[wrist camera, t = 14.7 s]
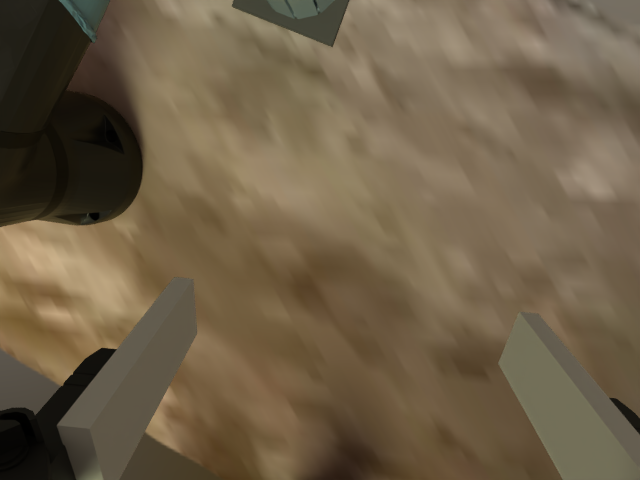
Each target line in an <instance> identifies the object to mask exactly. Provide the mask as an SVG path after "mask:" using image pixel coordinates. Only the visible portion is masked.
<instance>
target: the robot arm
mask: <svg viewBox="0 0 640 480" xmlns="http://www.w3.org/2000/svg"><path fill="white" fill-rule="evenodd" d="M109 2H110V0H0V227H2V226H7V225H12V224H17V223H21V222H26V221H32V220H42V221H49V222H56V223H62V224H69V225H91V224H96V223H100V222H104V221H108V220H111V219H113V218H115V217H117V216H119V215H120V214H121V213H123V212H124V211H125V210H126V209H127V208H128V207H129V206H130V204H131V203H132V202H133V200H134V198H135V196H136V194H137V192H138V189H139V186H140V182H141V175H142V163H141V155H140V150H139V147H138V144H137V141H136V139H135V136H134V134H133V132H132V130H131V129H130V127H129V125H128V124H127V122H126V121H125V120H124V118H123V117H122V116H121V115H120V114H119V113H118V112H117V111H116V110H115V109H114V108H113V107H111V106H110V105H109V104H107V103H106V102H104V101H102V100H100V99H98V98H96V97H94V96H91V95H87V94H83V93H78V92H74V91H68V90H66V89H67V87H68V85H69V83H70V81H71V79H72V77H73V75H74V73H75V71H76V69H77V68H78V66H79V64H80V62H81V60H82V58H83V56H84V54H85V52H86V50H87V48H88V46H89V44H90V42H93V43H95V41H96V39H97V36H96V31H97V29H98V26H99V24H100V22H101V20H102V18H103V15H104V13H105V11H106V9H107V6H108V4H109ZM196 335H197V323H196V309H195V295H194V281H193V279H189V278H179V277H174V278H173V279H172V281H171V282H170V283H169V284H168V286H167V287H166V288H165V289H164V291H163V292H162V293H161V294H160V296H159V297H158V298H157V300H156V301H155V302H154V303H153V305H152V306H151V307H150V308H149V310H148V311H147V312H146V313H145V315H144V316H143V317H142V318H141V320H140V321H139V322H138V323H137V325H136V326H135V327H134V329H133V330H132V331H131V332H130V334H129V335H128V336H127V337H126V339H125V340H124V341H123V342H122V344H121V345H120V346H119V347H118V349H108V348H101V349H99V350H98V351H96V352H95V353H93V354H92V355H90V356H89V357H87V358H86V359H85V360H84V361H83V362H82V363H81V364H80V365H79V366H78V368H77V369H76V370H75V371H74V372H73V375H71V376H70V377H69V378H68V379H67V380H66V381H65V382H64V385H63V386H61V387H60V388H59V389H58V390H57V391H56V393H55V394H54V395H53V396H52V397H51V398H50V399H49V401H48V402H47V403H46V404H45V405H44V406H43V407H42V409H41V410H40V411H39V412H38V413H37V414H36V415H34V413H33V411H31V410H29V409H26V408H10V409H6V410H3V411H0V480H119V479H120V477H121V475H122V473H123V471H124V469H125V467H126V465H127V464H128V462H129V460H130V458H131V456H132V454H133V452H134V451H135V449H136V447H137V445H138V443H139V441H140V439H141V438H142V436H143V434H144V432H145V430H146V428H147V426H148V424H149V423H150V421H151V419H152V417H153V415H154V413H155V411H156V409H157V408H158V406H159V404H160V402H161V400H162V398H163V396H164V394H165V393H166V391H167V389H168V387H169V385H170V383H171V381H172V379H173V378H174V376H175V374H176V372H177V370H178V368H179V366H180V365H181V363H182V361H183V359H184V357H185V355H186V353H187V351H188V350H189V348H190V346H191V344H192V342H193V340H194V338H195V336H196ZM498 364H499V366H500V367H501V369H502V371H503V373H504V375H505V376H506V378H507V380H508V382H509V384H510V385H511V387H512V389H513V391H514V393H515V394H516V396H517V398H518V400H519V402H520V403H521V405H522V407H523V409H524V411H525V412H526V414H527V416H528V418H529V419H530V421H531V423H532V425H533V427H534V428H535V430H536V432H537V434H538V436H539V437H540V439H541V441H542V443H543V445H544V446H545V448H546V450H547V452H548V454H549V455H550V457H551V459H552V461H553V463H554V464H555V466H556V468H557V470H558V472H559V473H560V475H561V477H562V479H563V480H640V418H639V417H638V416H637V415H636V414H635V413H634V412H633V411H632V410H630V409H629V408H628V407H627V406H625V405H624V404H623V403H621V402H620V401H619V400H618V399H616V398H608V396H607V395H606V394H605V393H604V392H603V390H602V389H601V388H600V387H599V386H598V384H597V383H596V382H595V381H594V380H593V378H592V377H591V376H590V375H589V374H588V372H587V371H586V370H585V369H584V368H583V366H582V365H581V364H580V363H579V362H578V361H577V359H576V358H575V357H574V356H573V355H572V353H571V352H570V351H569V350H568V349H567V347H566V346H565V345H564V344H563V343H562V341H561V340H560V339H559V338H558V337H557V335H556V334H555V333H554V332H553V331H552V329H551V328H550V327H549V326H548V325H547V324H546V322H545V321H544V320H543V319H542V318H541V316H540V315H539V314H536V313H526V312H519V314H518V316H517V319H516V321H515V324H514V326H513V329H512V331H511V333H510V336H509V338H508V341H507V343H506V346H505V348H504V351H503V353H502V356H501V358H500V361H499V363H498Z"/></svg>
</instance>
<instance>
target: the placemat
mask: <svg viewBox="0 0 640 480" xmlns="http://www.w3.org/2000/svg"><path fill="white" fill-rule="evenodd" d="M348 2H349V0H335V1H333V2H332V3H331V4H330V5H329V6H328V7H327V8H326V9H325V10H324V11H323V12H322V13H318V15H315V16H310V17H306V18H301V19H297V18H295V19H293V18H291V17H288V16H286V15H283V14H281V13H278V12H276V11H275V10H274V9H272V7H271V6H270V5H269V3H268V2H267V1H266V0H234V1H233V4H232V6H233V7H234V8H236V9H239V10H241V11H244V12H246V13H249V14H251V15H254V16H256V17H259V18H261V19H264V20H266V21H269V22H271V23H274V24H276V25H279V26H281V27H284V28H286V29H289V30H291V31H294V32H296V33H299V34H301V35H304V36H306V37H309V38H311V39H314V40H316V41H319V42H321V43H324V44H326V45H329V46H331V47H332V46H333V44H334V41H335V38H336V35H337V33H338V30H339V27H340V24H341V22H342V19H343V16H344V13H345V11H346V8H347V5H348Z"/></svg>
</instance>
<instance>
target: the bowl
mask: <svg viewBox="0 0 640 480" xmlns="http://www.w3.org/2000/svg"><path fill="white" fill-rule="evenodd" d="M266 1H267V2H268V3H269V5H270V6H271V7H272V9H274V10H275V11H276V12H278V13H281V14H283V15H286V16H288V17H291V18H293V19H295V18H297V19H301V18H306V17H310V16H315V15H318V13H322V12H323V11H324V10H325V9H326V8H327V7H328V6H329V5H330V4H331V3H332V2H333V1H335V0H266Z"/></svg>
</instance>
